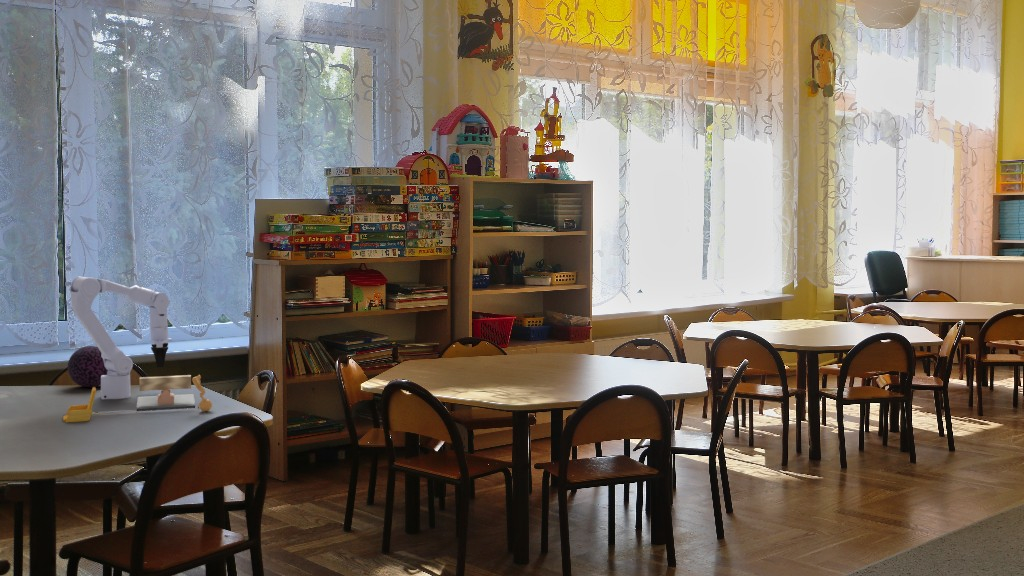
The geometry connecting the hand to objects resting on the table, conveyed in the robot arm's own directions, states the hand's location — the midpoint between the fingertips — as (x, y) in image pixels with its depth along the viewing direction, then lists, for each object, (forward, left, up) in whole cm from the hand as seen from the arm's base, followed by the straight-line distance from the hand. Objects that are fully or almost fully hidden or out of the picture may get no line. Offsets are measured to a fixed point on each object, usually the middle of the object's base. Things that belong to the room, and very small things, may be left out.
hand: (160, 365), depth 355 cm
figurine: (+13, -35, -11) cm, 39 cm away
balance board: (+2, -18, -10) cm, 21 cm away
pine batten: (+2, -21, -5) cm, 22 cm away
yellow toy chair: (-24, -34, -11) cm, 43 cm away
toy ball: (-24, +25, -11) cm, 36 cm away
